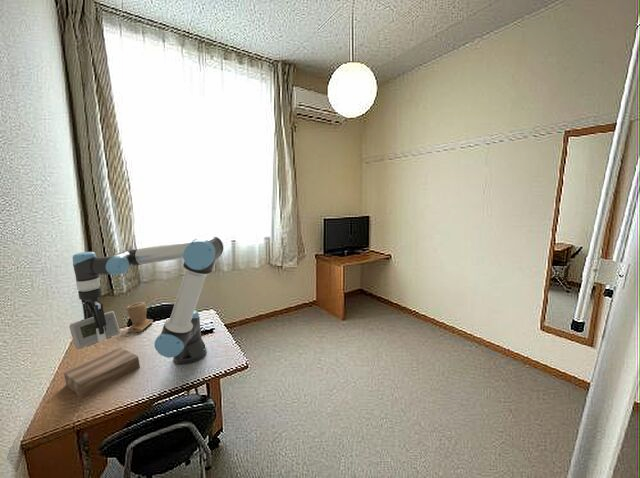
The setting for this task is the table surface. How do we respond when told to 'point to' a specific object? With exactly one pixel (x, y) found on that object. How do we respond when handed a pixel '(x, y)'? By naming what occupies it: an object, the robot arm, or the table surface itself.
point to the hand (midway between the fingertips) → (97, 338)
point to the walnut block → (101, 371)
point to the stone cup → (138, 317)
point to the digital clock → (92, 330)
